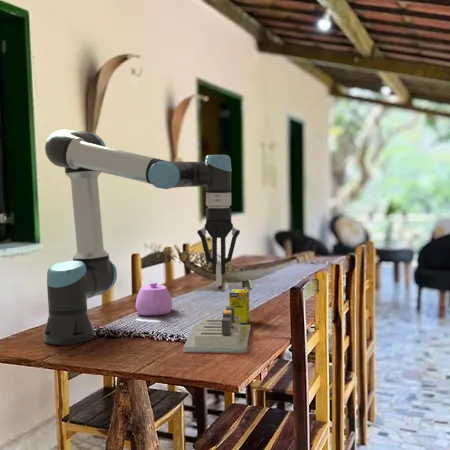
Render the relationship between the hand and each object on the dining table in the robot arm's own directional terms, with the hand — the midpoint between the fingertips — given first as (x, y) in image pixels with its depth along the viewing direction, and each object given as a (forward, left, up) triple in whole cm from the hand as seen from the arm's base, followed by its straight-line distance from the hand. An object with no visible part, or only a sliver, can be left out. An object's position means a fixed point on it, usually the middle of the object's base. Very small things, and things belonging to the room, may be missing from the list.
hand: (219, 284), depth 173 cm
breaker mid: (+2, 0, -13) cm, 13 cm away
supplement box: (+5, +20, -17) cm, 27 cm away
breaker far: (+3, +7, -13) cm, 15 cm away
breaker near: (+3, -7, -13) cm, 15 cm away
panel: (0, 0, -17) cm, 17 cm away
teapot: (-27, +32, -17) cm, 45 cm away
